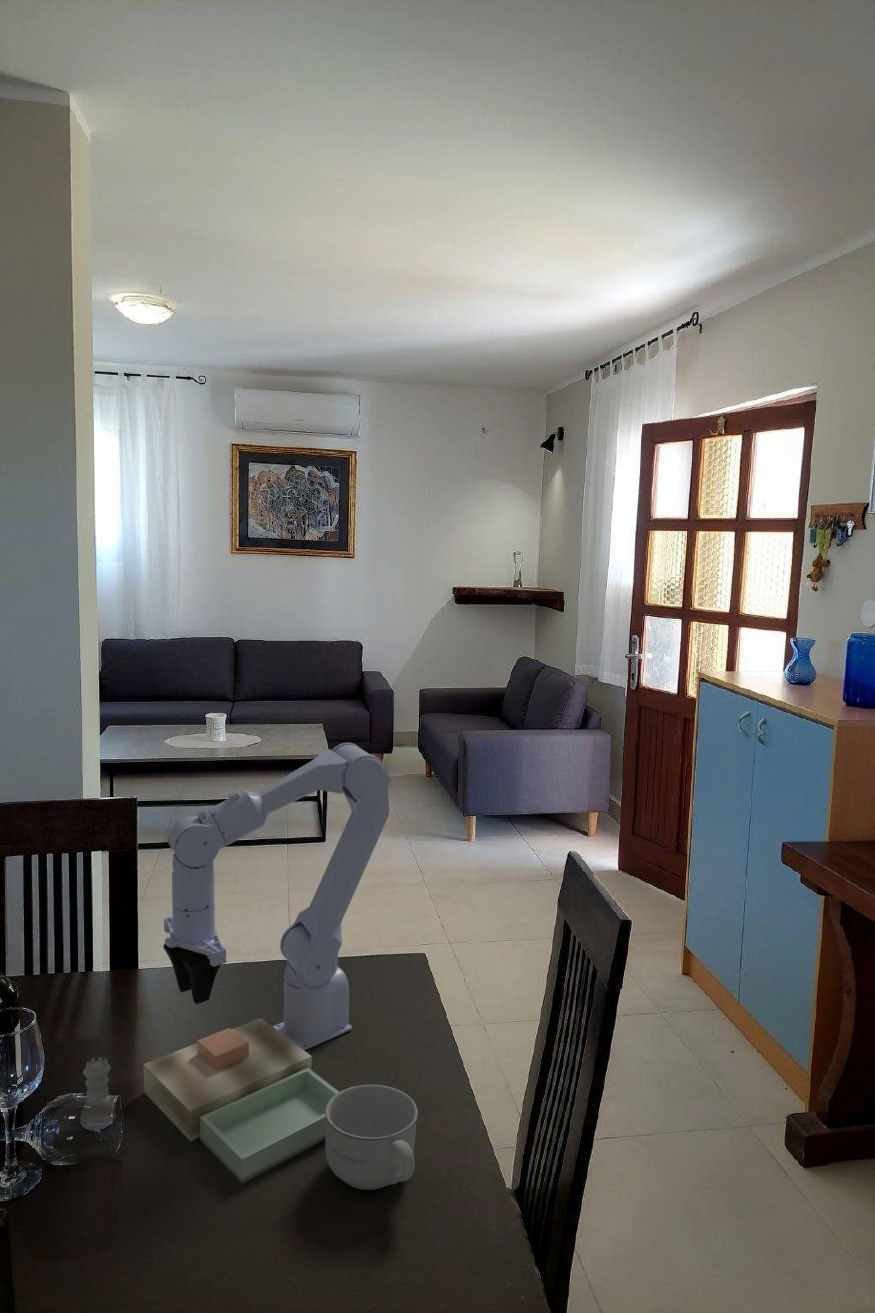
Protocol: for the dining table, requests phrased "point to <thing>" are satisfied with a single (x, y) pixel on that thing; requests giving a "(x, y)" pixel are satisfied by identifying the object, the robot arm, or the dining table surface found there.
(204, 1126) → the box
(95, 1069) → the rook chess piece
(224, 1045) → the tile
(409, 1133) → the teacup
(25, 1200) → the dining table surface
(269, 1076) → the beige banded block
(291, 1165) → the dining table surface
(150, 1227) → the dining table surface
